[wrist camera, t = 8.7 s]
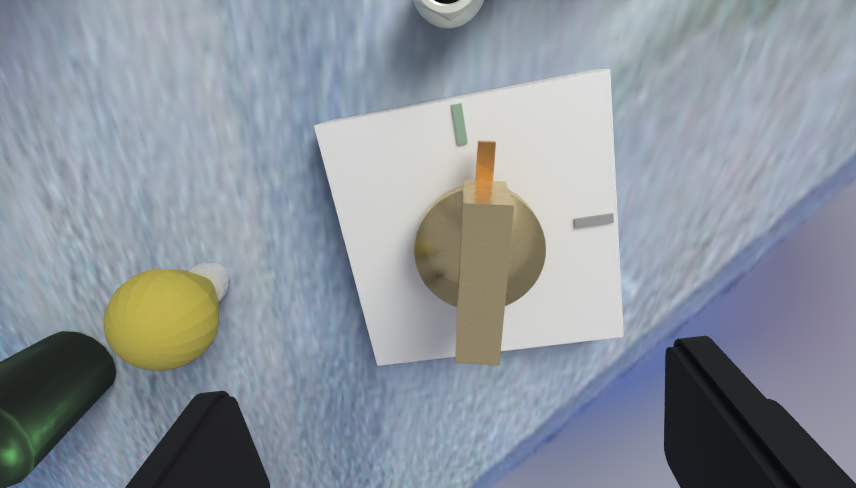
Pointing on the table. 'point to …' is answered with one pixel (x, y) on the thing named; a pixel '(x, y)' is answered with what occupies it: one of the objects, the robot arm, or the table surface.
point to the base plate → (514, 163)
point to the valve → (448, 12)
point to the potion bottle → (47, 397)
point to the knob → (480, 256)
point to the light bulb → (166, 316)
